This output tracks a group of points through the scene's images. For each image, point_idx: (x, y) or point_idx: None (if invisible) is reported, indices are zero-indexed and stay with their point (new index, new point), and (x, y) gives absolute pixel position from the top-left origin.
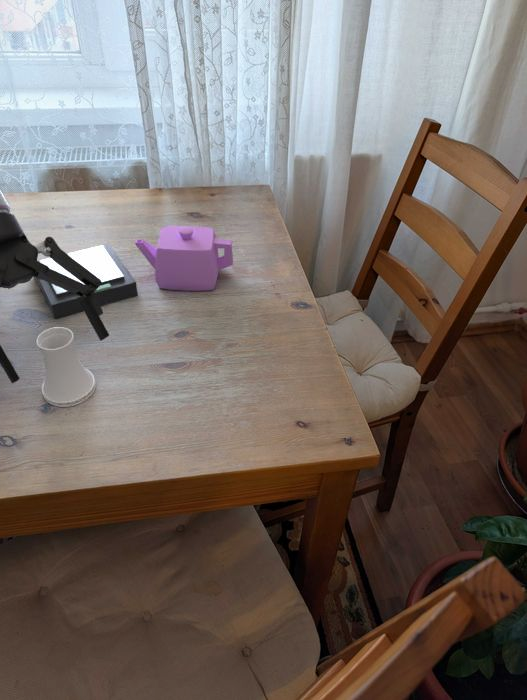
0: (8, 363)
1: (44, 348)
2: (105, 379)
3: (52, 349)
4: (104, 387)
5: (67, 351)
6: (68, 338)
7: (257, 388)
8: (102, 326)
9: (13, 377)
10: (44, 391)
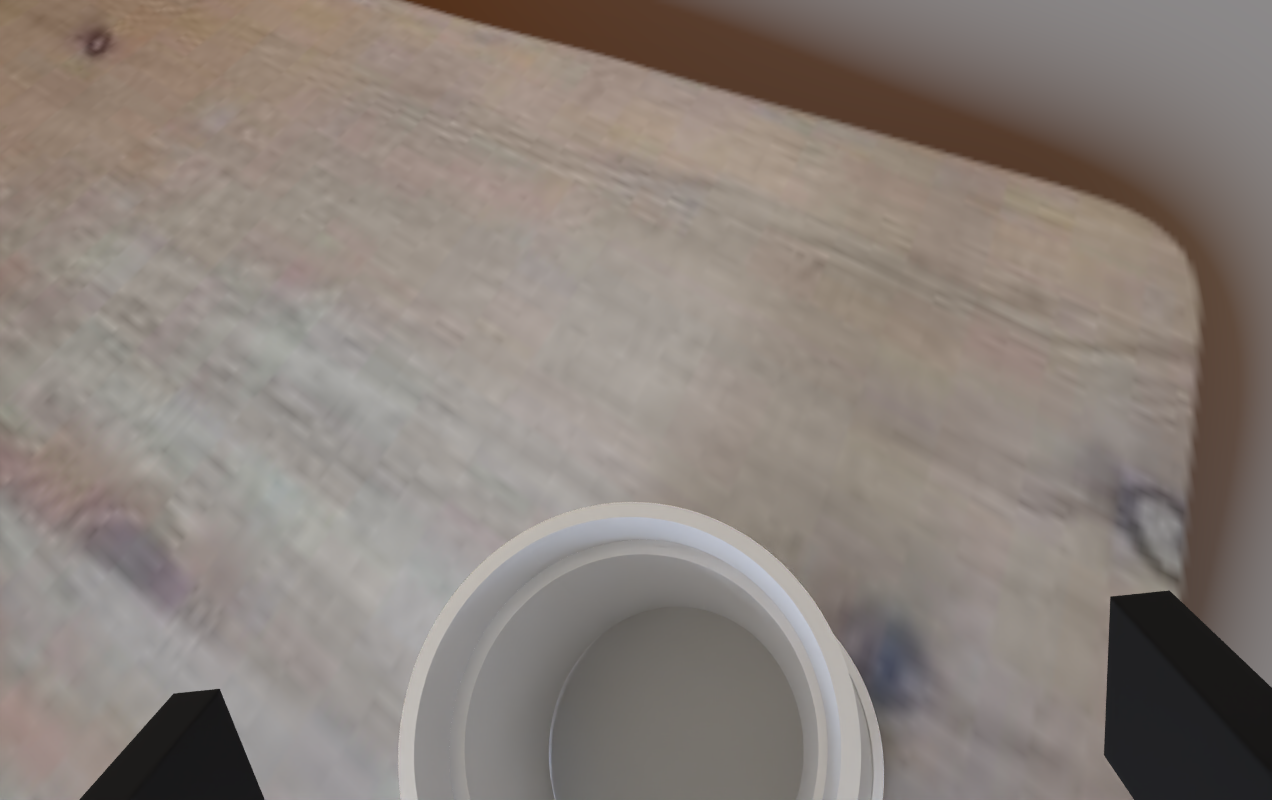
0: (1258, 723)
1: (801, 602)
2: None
3: (725, 529)
4: None
5: (593, 550)
6: (485, 797)
7: (35, 229)
8: (119, 774)
9: (1178, 616)
10: (868, 770)
